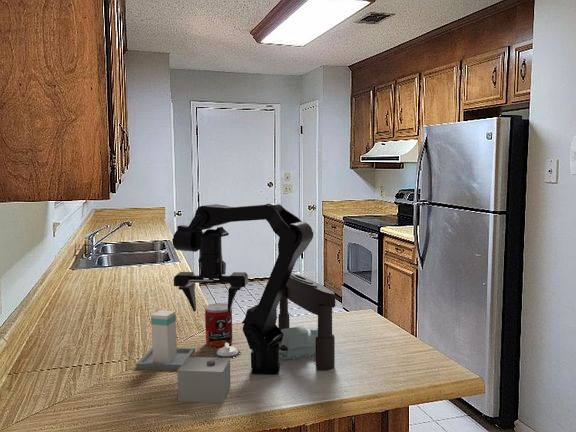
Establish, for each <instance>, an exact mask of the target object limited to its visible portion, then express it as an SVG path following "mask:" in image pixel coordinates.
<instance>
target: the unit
mask: <svg viewBox="0 0 576 432" xmlns="http://www.w3.org/2000/svg"><path fill="white" fill-rule="evenodd" d="M176 371H177V372H176V373H177V398H178V399H177V400H178V402H192V403H193V402H195V403H206V404H207V403H212V404H213V403H215V404H224V403H225V401H226V398H227V396H228V394H229V391H230V390H231V388H232V386H231V383H232V382H231V359H230V358H218V357H203V356H202V357H198V356H196V357H195V356H194V357H193V356H192V357H187V358H186V360H185V361H184V362H183V364H182V365H181V366H180V368H179V369H178V370H176Z"/></svg>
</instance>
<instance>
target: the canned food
mask: <svg viewBox="0 0 576 432" xmlns="http://www.w3.org/2000/svg"><path fill="white" fill-rule="evenodd" d="M204 319H205V321H204V323H205V343H206V345H208V346H207V347H209V346H211V347H210V348H213V347H225V343H228V344H229V345H230V344H231V343H233V306H232V307H231V310H230V312H228V303H222V302H218V303H217V302H215V303H211V304H208V305H206V306H205V307H204ZM231 345H232V344H231ZM231 345H230V346H231Z"/></svg>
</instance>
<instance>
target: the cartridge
mask: <svg viewBox="0 0 576 432" xmlns="http://www.w3.org/2000/svg"><path fill="white" fill-rule="evenodd" d="M176 314H177V313H176V311H175V310H162V309H160V310H157V311H156V312H154V313H152V314H150V323H151V324H150V325H151V344H152V345H151V346H152V347H151V348H152V350H153V362H159V363H170V362H171V361H173V360H174V359H175V358H177V348H178V347H177V346H178V345H177V315H176Z"/></svg>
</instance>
